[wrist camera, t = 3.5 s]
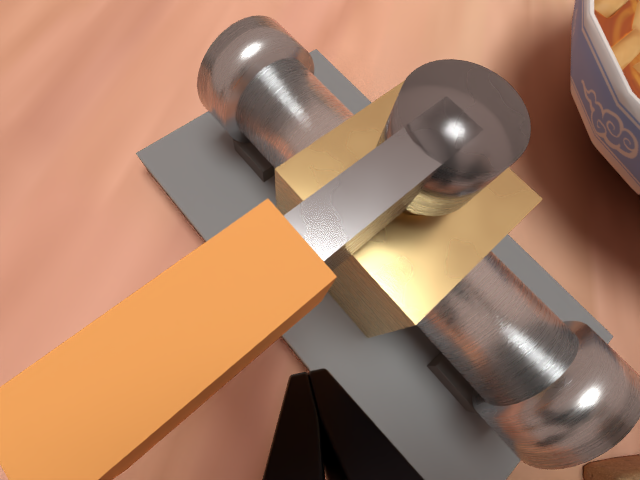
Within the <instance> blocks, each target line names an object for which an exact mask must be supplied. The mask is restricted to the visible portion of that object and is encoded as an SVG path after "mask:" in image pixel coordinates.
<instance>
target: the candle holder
mask: <svg viewBox="0 0 640 480" xmlns="http://www.w3.org/2000/svg"><path fill="white" fill-rule="evenodd" d="M584 480H640V455H632V456H624V457H615V458H610V459H605V460H600V461H595V462H590V463H588V464H587V465H585V466H584Z"/></svg>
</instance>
